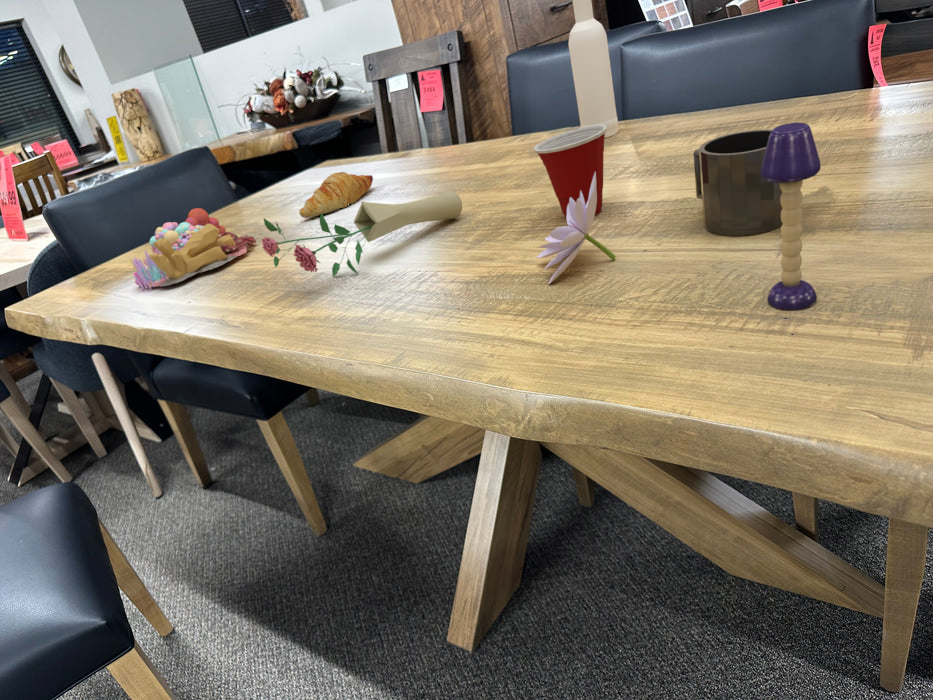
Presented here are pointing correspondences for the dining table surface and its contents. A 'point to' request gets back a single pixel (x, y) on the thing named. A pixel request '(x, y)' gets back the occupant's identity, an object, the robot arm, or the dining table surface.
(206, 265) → the pastel sphere sculpture
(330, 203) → the croissant
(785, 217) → the toy lamp
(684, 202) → the dining table surface
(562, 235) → the water lily
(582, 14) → the bottle
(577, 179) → the plastic cup
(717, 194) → the mug
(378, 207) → the flower vase
